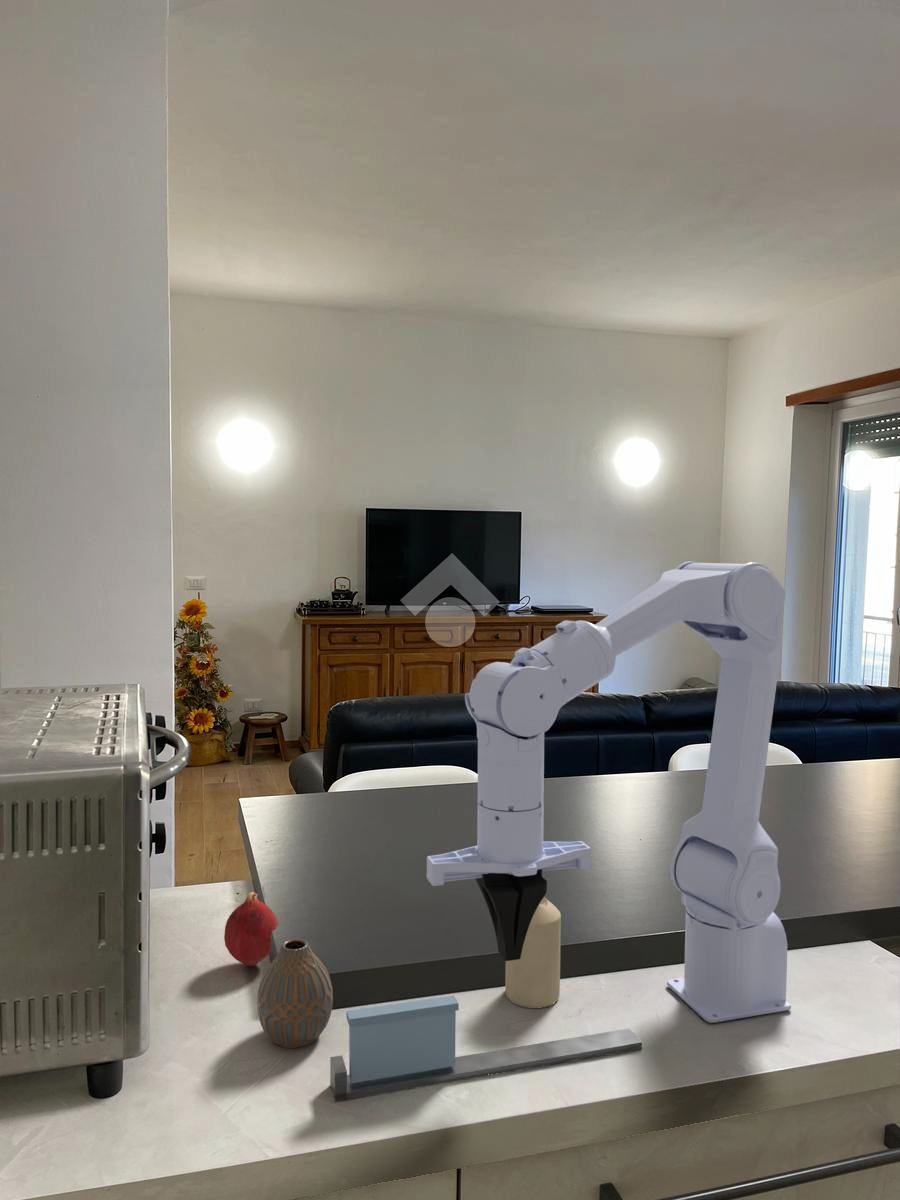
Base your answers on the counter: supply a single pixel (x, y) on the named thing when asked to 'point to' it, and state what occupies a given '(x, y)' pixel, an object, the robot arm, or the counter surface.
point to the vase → (294, 996)
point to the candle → (537, 961)
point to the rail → (486, 1063)
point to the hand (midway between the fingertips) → (509, 955)
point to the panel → (401, 1038)
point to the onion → (250, 931)
